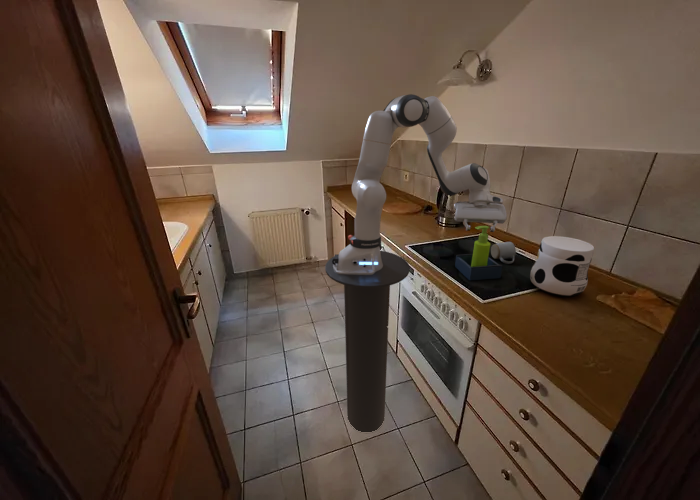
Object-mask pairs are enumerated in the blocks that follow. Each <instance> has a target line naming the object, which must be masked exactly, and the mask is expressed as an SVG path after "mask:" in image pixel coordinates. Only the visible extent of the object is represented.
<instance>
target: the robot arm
mask: <svg viewBox="0 0 700 500" xmlns="http://www.w3.org/2000/svg"><path fill="white" fill-rule="evenodd" d="M418 125H419V126H420V127H421V128H422V130H423V131H424V133H425V135H426V137H427V141H428V144H427V146H426V152H427V155H428V158H429V161H430V163H431V165H432V169H433V170H434V173H435V175H436V178H437V180H438V185H439V187H440V190H441V192H442V193H443V194H445V195H447V196H449V197H453V196H455V195H457V194H459V193H463V192H464V191H467V190H468V192H469V193H468V201H466V200H465V201H464V200H463V201H462V200H459V201H456V202H455V203H454V205H453V209H454V210H455V212H454V221H455V222H459V223H461V222H462V224H463V226H464V228H465V231H466V232H467V231H469V232H470V231H471V225H469V224H468V223H482V224H492V226H490V229H489V232H490V233H495V231H496V227H497V225H498V224H504V223H505V222H506V221H507V218H508V213H507V209H506V206H505V205H504V204H503V203H504V199H503V198H502V197H499V196H496V195H492V194H491V190H490V189H491V177H490V174H489V171H488V169H487V168H486V167H484V166H482V165H480V164H478V163H476V162H472V163H469V164H466V165H464V166H462V167H460V168H458V169H455V170H453V171H449V170H448V168H447V166H446V163H445V161H444V158H443V153H444V151H446V150H447V148H449V146H450V145H451V144H452V142H453V141H454V139H455V138H456V135H457V130H458V127H457V124H456V122H455V120H454V117H453V116H452V115H451V113H450V111H449V110H448V108H447V107H446V106H445V104H444V103H443V101H441V100H440V99H439V97H437V96H435V95H429V96H427V97H425V98H422V97H420V96H419V95H416V94H414V93H413V94H412V93H409V94H402V95H399V96H397V97H394V98H393V99H391V100H390V101H389V102H388V104H386V107H384V109H383V110H374V111H373V112H372V113H370V115H369V116H368V119H367V122H366V125H365V129H364V133H363V138H362V144H361V148H360V154H359V159H358V164H357V167H356V170H355V173H354V178H353V181H352V184H351V193H352V196H353V197H354V199H356V210H355V216H354V235H352V234H349V235H348V236H347V238H348V240H349V244H348V245H347V246H345V247H344V248H343V249H341V250H340V251H339V253H338V254H334V256H335V258H334V259H333V260H332V263H333V269H334V271H335V272H336V273H337V274H350V275H373V274H374V273H375V272H376V271H378V270H380V269H382V267H383V263H382V259H381V252H380V251H381V248H382V236H381V220H382V214H383V209H384V205H385V203H386V201H387V192H386V189H385V187H384V185H383V184H382V183H381V182H380V181H381V179H382V175H383V173H384V171H385V169H386V168H387V165H388V162H389V156H390V151H391V147H392V141H393V136H394V133H395V132H396V129H397V128H401V129H404V128H411V127H415V126H418Z"/></svg>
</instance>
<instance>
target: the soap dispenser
mask: <svg viewBox="0 0 700 500" xmlns="http://www.w3.org/2000/svg"><path fill="white" fill-rule="evenodd" d="M490 228H491V226H488V225H478V226H475V227H474V229H475V230H478V231H479V230H481V232H479V234H478V239H477V240H475V241H474V243H473V244H474V245H473V250H472V254H473V256H472V263H471V267H478V266H487V261H488V257H489V256H490V251H491V242H489V234H488V230H490Z"/></svg>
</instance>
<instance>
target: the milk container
mask: <svg viewBox="0 0 700 500" xmlns="http://www.w3.org/2000/svg"><path fill="white" fill-rule="evenodd" d="M594 252H595V247H594V246H593V244H592V243H590V242H587V241H585V240H583V239H577V238H574V237H568V236H562V235H561V236H560V235H551V236H550V235H549V236H544V237H543V238H542V239H541V241H540V244H539V249H538V251H537V257H536V259H535V262H534V263H533V265H532V267H531V269H530V274H529V278H530V283H531V284H532V285H533V286H535V288H536V289H539V290H540V291H543V292H545V293H547V294H551V295H554V296H559V297H575V296H578V295H581V294H582V293H583V292H584V291H585V289H586V288H587V286H588V282H589V275H588V274H589V267H590V266H591V263H592V258H593V256H594Z"/></svg>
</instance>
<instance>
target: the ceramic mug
mask: <svg viewBox="0 0 700 500" xmlns="http://www.w3.org/2000/svg"><path fill="white" fill-rule="evenodd" d="M516 254H517V249H516V246H515V244H514V243H513V242H512V241H504V242H497V243H494V244H491V246H490V255H491V257H492V258H493V259H495V260H500V261H501V262H502V263H503V264H505V265H511V264H513V263H514V262H515V257H516ZM508 260H511V261H508Z"/></svg>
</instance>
